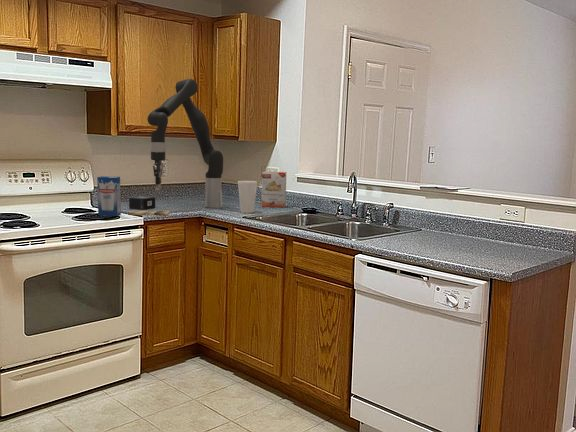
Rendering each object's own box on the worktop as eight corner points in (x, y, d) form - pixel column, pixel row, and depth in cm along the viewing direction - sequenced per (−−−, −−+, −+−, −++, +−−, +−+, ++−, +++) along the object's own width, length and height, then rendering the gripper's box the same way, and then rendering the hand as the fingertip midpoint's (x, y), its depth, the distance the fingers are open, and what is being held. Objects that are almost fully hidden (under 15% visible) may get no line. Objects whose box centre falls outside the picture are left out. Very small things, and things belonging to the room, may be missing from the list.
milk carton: (121, 214, 317) (120, 176, 314) (117, 216, 310) (116, 177, 308) (102, 214, 317) (101, 176, 314) (98, 216, 311) (97, 177, 308)
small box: (143, 198, 336) (128, 197, 340) (143, 209, 337) (128, 209, 341) (155, 196, 345) (140, 195, 350) (155, 208, 346) (141, 207, 351)
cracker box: (261, 207, 359) (261, 171, 356) (262, 205, 365) (263, 171, 362) (284, 207, 357) (285, 172, 354) (285, 206, 363) (286, 171, 360)
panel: (169, 213, 326) (169, 211, 326) (166, 215, 317) (166, 213, 317) (132, 212, 326) (132, 210, 326) (128, 214, 317) (128, 212, 317)
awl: (161, 190, 321) (161, 173, 320) (160, 190, 319) (160, 173, 317) (156, 190, 321) (155, 173, 320) (154, 190, 319) (154, 173, 317)
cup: (249, 210, 343) (249, 180, 340) (260, 212, 335) (261, 181, 333) (233, 212, 335) (233, 181, 333) (244, 214, 328) (245, 182, 325)
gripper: (153, 150, 324) (154, 182, 326) (147, 151, 310) (148, 184, 313) (167, 150, 324) (168, 182, 326) (162, 151, 310) (162, 185, 313)
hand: (158, 183), depth 319 cm, fingers closed on awl, 3 cm apart
